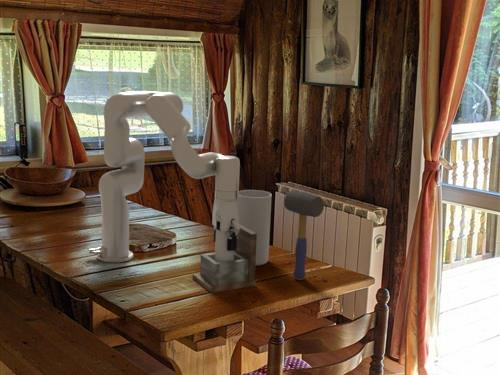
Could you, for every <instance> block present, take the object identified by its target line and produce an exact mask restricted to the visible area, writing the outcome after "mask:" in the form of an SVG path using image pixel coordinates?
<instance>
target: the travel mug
mask: <svg viewBox="0 0 500 375" xmlns="http://www.w3.org/2000/svg"><path fill="white" fill-rule="evenodd" d="M216 226H217V227H216V241H215V242H214V245H215V246H214V253H215V261H216V262H217V263H218V262H226V261H234V251H227V239H229V237H228V234H227V231H226V232H223V231H221V230H220V222H218V221H216ZM229 229H233V228H232V227H231V226H230V228H229ZM230 233H231V234H232V233H233V232H230Z"/></svg>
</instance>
